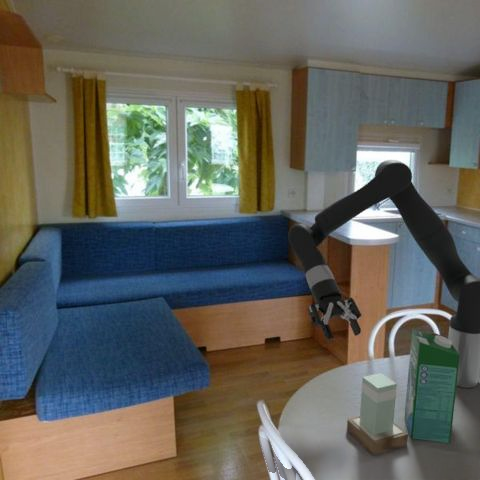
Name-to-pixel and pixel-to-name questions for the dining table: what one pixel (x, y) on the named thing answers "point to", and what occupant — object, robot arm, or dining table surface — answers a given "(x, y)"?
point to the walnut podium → (377, 437)
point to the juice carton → (378, 403)
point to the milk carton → (431, 387)
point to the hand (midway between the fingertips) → (344, 336)
